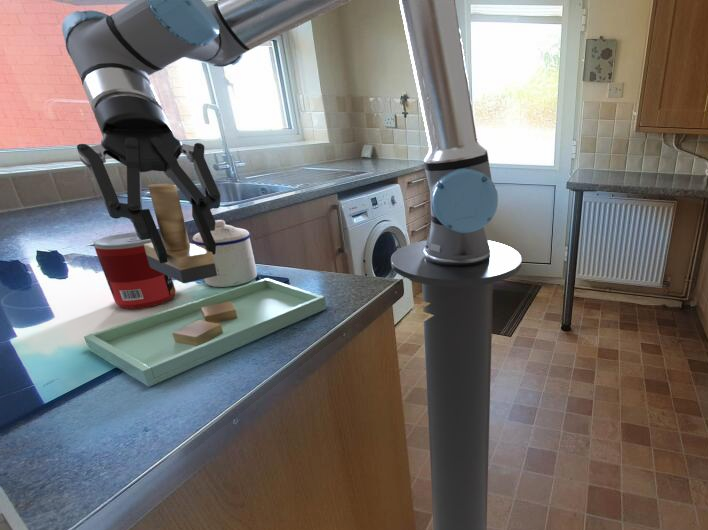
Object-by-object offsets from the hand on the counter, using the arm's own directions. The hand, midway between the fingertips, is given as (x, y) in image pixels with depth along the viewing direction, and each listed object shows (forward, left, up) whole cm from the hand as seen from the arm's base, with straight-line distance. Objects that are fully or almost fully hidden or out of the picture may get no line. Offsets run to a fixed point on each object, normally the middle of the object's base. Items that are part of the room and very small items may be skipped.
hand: (188, 253), depth 54 cm
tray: (-3, -3, -13) cm, 14 cm away
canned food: (-2, -23, -14) cm, 27 cm away
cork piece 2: (-4, -5, -13) cm, 14 cm away
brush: (0, -4, -3) cm, 5 cm away
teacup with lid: (-14, -22, -14) cm, 30 cm away
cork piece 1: (+1, -1, -13) cm, 13 cm away
